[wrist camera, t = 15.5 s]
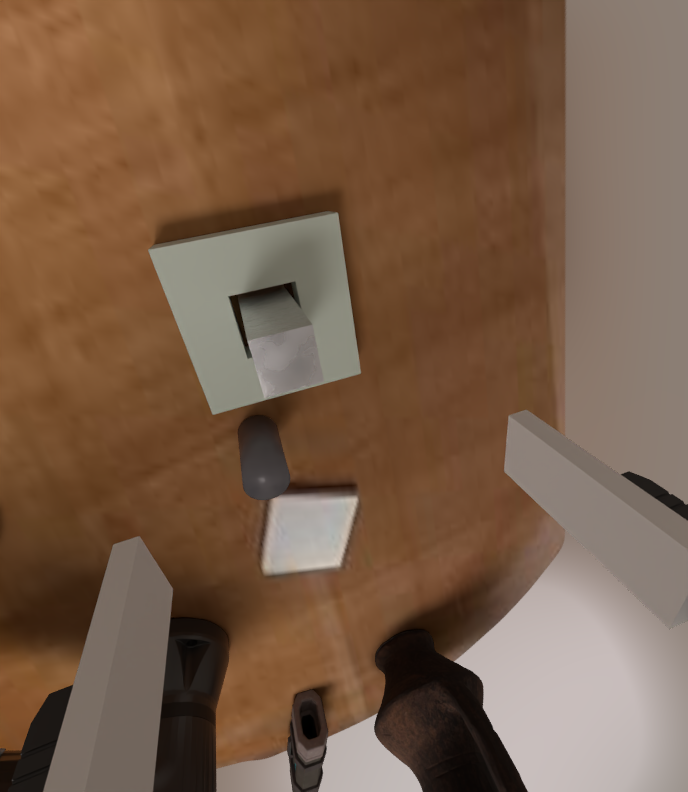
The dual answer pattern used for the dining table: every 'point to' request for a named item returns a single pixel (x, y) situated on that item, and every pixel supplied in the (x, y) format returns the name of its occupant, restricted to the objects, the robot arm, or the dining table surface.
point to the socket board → (248, 271)
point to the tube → (307, 742)
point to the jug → (439, 720)
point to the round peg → (262, 458)
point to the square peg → (280, 340)
